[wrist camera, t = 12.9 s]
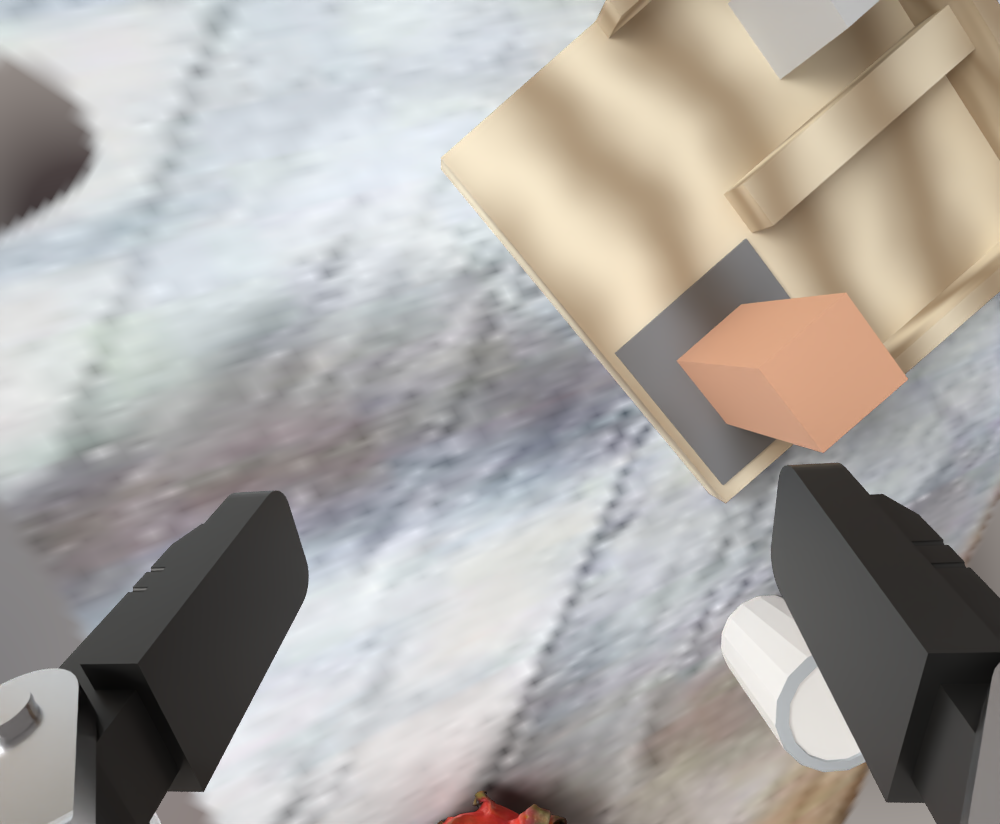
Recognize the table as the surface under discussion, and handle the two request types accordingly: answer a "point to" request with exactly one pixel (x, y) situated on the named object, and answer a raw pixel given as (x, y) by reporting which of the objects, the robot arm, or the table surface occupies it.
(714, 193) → the wooden divided tray
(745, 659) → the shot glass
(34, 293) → the table surface
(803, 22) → the grey block
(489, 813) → the dragon fruit
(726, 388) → the terracotta block
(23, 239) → the table surface
